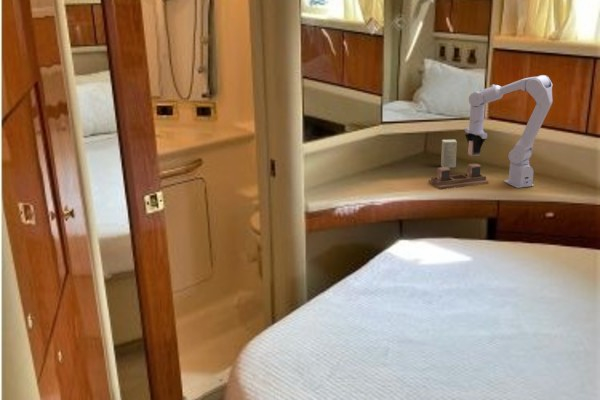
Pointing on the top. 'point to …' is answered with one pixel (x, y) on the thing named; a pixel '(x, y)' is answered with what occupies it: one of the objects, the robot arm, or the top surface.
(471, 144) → the rose block
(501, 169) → the top surface
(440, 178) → the walnut rack
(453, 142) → the skincare box
